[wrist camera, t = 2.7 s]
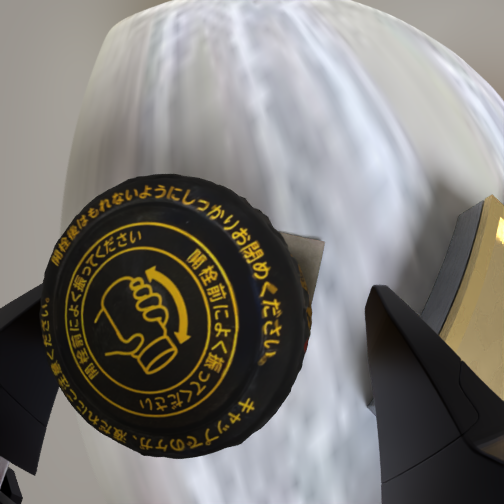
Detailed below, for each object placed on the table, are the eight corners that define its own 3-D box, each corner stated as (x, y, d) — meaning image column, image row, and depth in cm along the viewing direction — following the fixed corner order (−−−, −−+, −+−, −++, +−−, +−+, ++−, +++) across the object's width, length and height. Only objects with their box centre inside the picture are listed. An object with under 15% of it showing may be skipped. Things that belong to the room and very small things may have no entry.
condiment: (167, 353, 16) (0, 398, 4) (203, 216, 17) (101, 72, 5) (289, 387, 15) (314, 535, 3) (324, 243, 16) (410, 104, 5)
